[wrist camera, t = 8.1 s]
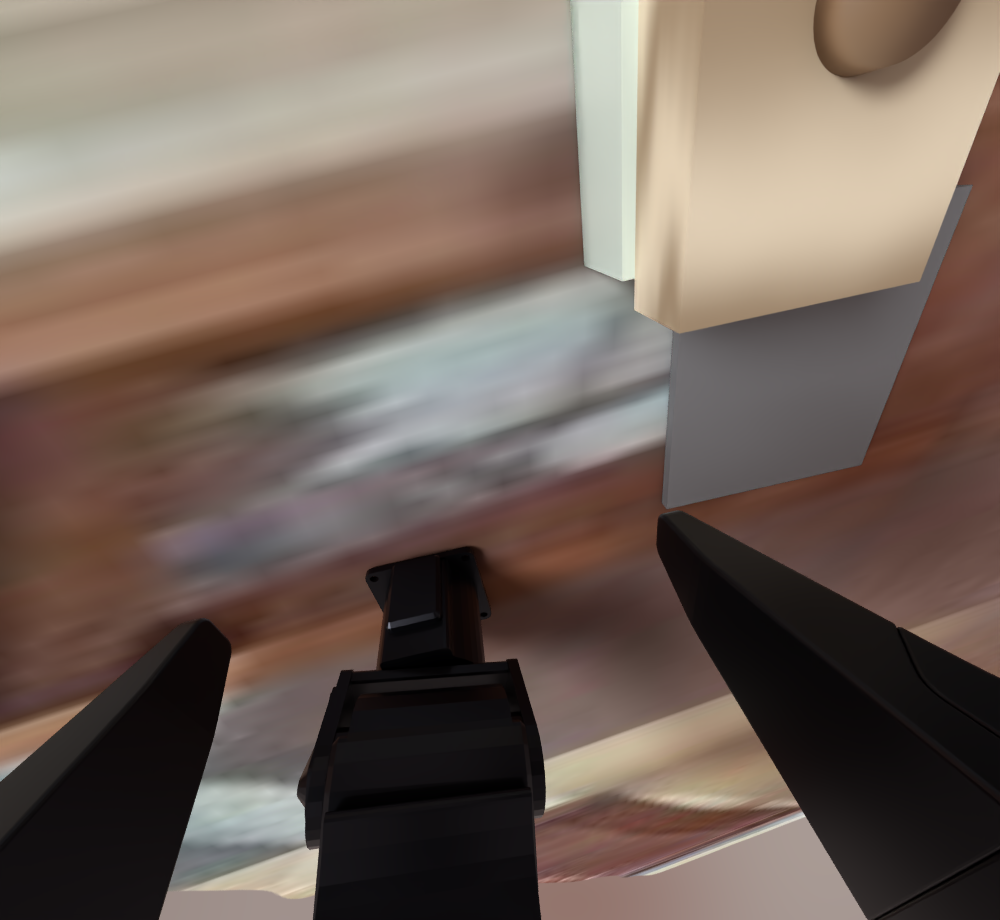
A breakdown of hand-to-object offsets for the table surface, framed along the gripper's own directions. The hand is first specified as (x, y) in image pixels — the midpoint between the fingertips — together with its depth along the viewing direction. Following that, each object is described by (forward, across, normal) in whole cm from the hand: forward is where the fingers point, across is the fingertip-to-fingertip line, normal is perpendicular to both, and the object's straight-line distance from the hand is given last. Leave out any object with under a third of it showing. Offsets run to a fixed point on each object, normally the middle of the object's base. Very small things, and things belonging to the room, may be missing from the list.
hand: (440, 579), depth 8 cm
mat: (+12, -17, +4) cm, 21 cm away
